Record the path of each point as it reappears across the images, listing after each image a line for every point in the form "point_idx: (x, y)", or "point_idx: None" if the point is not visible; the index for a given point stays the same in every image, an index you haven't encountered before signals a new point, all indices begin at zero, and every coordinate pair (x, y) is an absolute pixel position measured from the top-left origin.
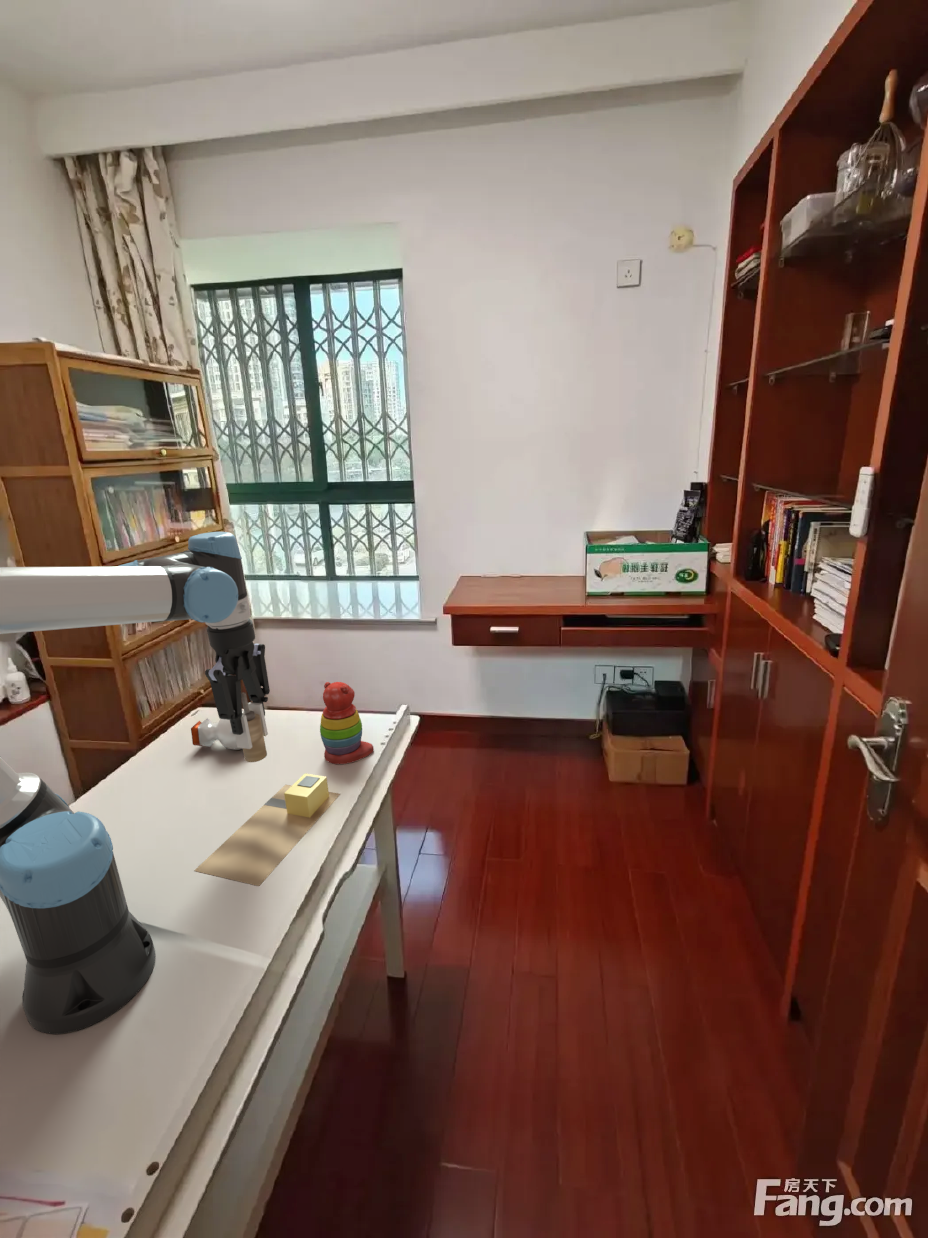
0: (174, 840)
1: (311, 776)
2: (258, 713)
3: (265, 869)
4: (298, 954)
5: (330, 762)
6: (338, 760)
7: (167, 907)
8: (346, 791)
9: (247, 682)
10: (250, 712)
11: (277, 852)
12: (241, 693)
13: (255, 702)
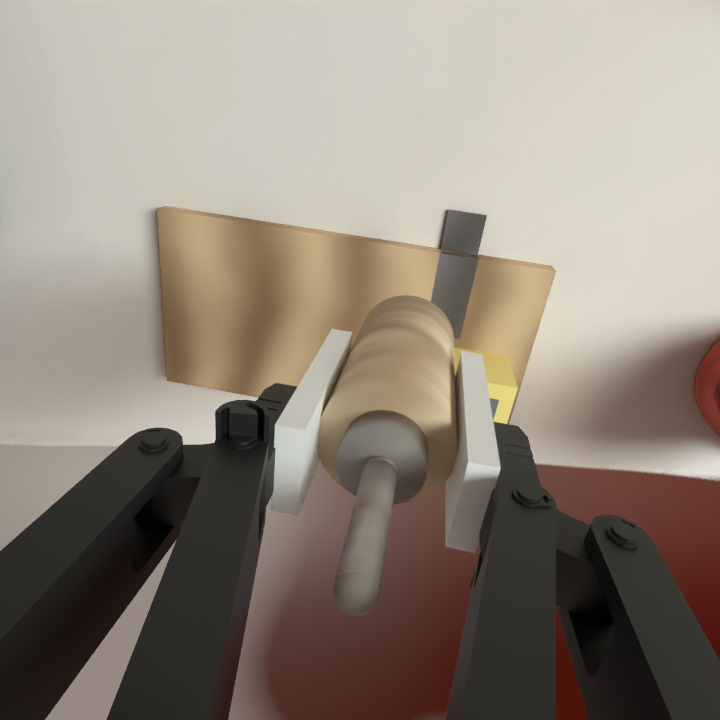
0: (266, 28)
1: (497, 414)
2: (448, 485)
3: (210, 372)
4: None
5: (710, 351)
6: (703, 384)
7: (74, 200)
8: (537, 435)
9: (460, 687)
10: (399, 481)
11: (263, 375)
12: (345, 594)
13: (485, 514)
